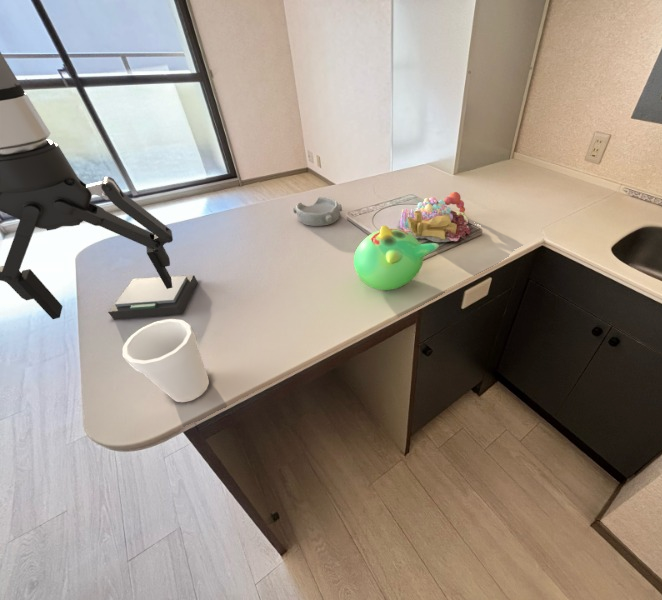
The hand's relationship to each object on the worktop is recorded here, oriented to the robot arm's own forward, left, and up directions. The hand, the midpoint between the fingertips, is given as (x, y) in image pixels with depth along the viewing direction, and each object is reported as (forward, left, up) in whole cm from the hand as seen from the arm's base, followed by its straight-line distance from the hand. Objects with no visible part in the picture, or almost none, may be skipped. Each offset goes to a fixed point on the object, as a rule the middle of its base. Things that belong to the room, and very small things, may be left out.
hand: (116, 297), depth 48 cm
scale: (-11, +24, -20) cm, 33 cm away
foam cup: (+4, -3, -20) cm, 21 cm away
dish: (+26, +62, -20) cm, 70 cm away
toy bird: (+45, +24, -20) cm, 55 cm away
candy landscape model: (+64, +53, -20) cm, 85 cm away
